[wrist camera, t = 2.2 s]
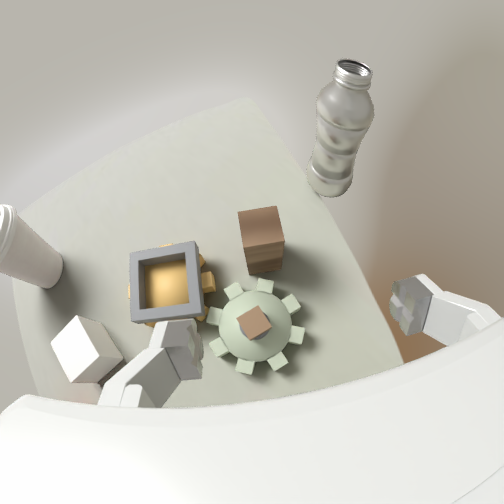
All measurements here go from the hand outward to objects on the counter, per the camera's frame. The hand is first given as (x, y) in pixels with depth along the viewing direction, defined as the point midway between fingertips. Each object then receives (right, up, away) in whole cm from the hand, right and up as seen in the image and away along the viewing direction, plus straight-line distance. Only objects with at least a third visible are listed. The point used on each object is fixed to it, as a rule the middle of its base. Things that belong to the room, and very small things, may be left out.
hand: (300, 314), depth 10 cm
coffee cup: (-35, -1, +26) cm, 44 cm away
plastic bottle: (+9, +12, +28) cm, 32 cm away
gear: (-1, -6, +21) cm, 22 cm away
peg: (-1, +2, +25) cm, 25 cm away
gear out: (-12, -2, +23) cm, 26 cm away
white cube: (-23, -11, +21) cm, 33 cm away
